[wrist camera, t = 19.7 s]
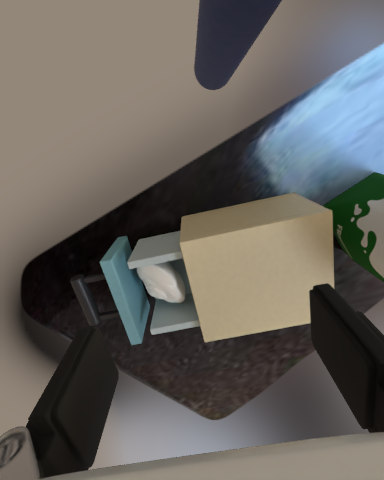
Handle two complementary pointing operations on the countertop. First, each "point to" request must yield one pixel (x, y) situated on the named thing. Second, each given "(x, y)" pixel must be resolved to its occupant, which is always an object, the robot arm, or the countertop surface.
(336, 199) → the milk carton
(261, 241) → the cabinet
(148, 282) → the dumpling
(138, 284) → the drawer
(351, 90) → the countertop surface
